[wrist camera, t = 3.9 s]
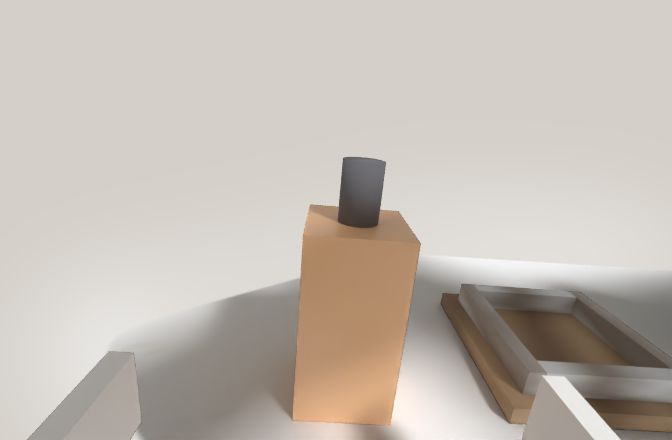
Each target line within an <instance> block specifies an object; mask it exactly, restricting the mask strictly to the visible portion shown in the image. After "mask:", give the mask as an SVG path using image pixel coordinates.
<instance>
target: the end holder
mask: <svg viewBox="0 0 672 440" xmlns="http://www.w3.org/2000/svg"><path fill="white" fill-rule="evenodd" d="M441 305H442V307H443V308H444V310H445V312H446V314H447V315H448V317H449V319H450V320H451V322H452V324H453V326H454V327H455V329H456V331H457V333H458V334H459V336H460V338H461V340H462V341H463V343H464V345H465V346H466V348H467V350H468V352H469V353H470V355H471V357H472V359H473V360H474V362H475V364H476V366H477V367H478V369H479V371H480V373H481V374H482V376H483V378H484V379H485V381H486V383H487V385H488V386H489V388H490V390H491V392H492V393H493V395H494V397H495V399H496V400H497V402H498V404H499V406H500V407H501V409H502V411H503V412H504V414H505V416H506V418H507V419H508V421H509V423H517V424H527V421H528V417H529V414H530V411H531V408H532V405H533V402H534V399H535V396H536V392H537V389H538V386H539V383H540V380H541V377H542V375H545V376H563V377H565V378H566V379H567V380H568V381H569V382H570V383H571V384H572V385H573V387H574V388H575V389H576V390H577V391H578V392H579V393H580V394H581V396H582V397H583V398H584V399H585V400H586V401H587V402H588V403H589V405H590V406H591V407H592V408H593V409H594V410H595V411H596V412H597V413H598V415H599V416H600V417H601V418H602V419H603V420H604V421H605V422H606V424H607V425H608V426H609V427H610V428H611V429H627V430H646V431H664V432H672V358H671V357H670V356H668V355H667V354H665V353H664V352H663V351H661V350H660V349H659V348H657V347H656V346H654V345H653V344H652V343H650V342H649V341H647V340H646V339H645V338H643V337H642V336H640V335H639V334H638V333H636V332H635V331H633V330H632V329H631V328H629V327H628V326H626V325H625V324H624V323H622V322H621V321H620V320H618V319H617V318H615V317H614V316H613V315H611V314H610V313H608V312H607V311H606V310H604V309H603V308H601V307H600V306H599V305H597V304H596V303H594V302H593V301H592V300H590V299H589V298H588V297H586V296H585V295H583V294H582V293H581V292H571V291H557V290H543V289H528V288H514V287H500V286H485V285H471V284H462V285H461V290H460V294H448V293H443V294H442V299H441Z"/></svg>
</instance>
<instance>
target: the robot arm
mask: <svg viewBox="0 0 672 440" xmlns="http://www.w3.org/2000/svg"><path fill="white" fill-rule="evenodd" d="M141 421H142V419H141V410H140V402H139V393H138V384H137V375H136V366H135V357H134V353H131V352H113V351H109V352H108V353H107V354H106V355H105V356H104V357H103V358H102V359H101V360H100V361H99V363H98V364H97V365H96V366H95V367H94V368H93V369H92V370H91V371H90V372H89V374H87V376H86V377H85V378H84V379H83V380H82V381H81V382H80V383H79V384H78V385H77V386H76V387H75V388H74V390H73V391H72V392H71V393H70V394H69V395H68V396H67V397H66V398H65V399H64V400H63V401H62V403H61V404H60V405H59V406H58V407H57V408H56V409H55V410H54V411H53V412H52V413H51V415H49V417H48V418H47V419H46V420H45V421H44V422H43V423H42V424H41V425H40V426H39V427H38V428H37V430H36V431H35V432H34V433H33V434H32V435H31V436H30V437H29V438H28V439H27V440H131V438H132V436H133V435H134V433H135V431H136V430H137V428H138V426H139V425H140V423H141ZM522 440H621V439H620V438H619V437H618V436H617V435H616V434H615V433H614V431H613V430H612V429H611V428H610V427H609V426H608V425H607V424H606V422H605V421H604V420H603V419H602V418H601V417H600V416H599V415H598V413H597V412H596V411H595V410H594V409H593V408H592V407H591V406H590V405H589V403H588V402H587V401H586V400H585V399H584V398H583V397H582V396H581V394H580V393H579V392H578V391H577V390H576V389H575V388H574V387H573V385H572V384H571V383H570V382H569V381H568V380H567V379H566V378H565V377H563V376H545V375H542V377H541V380H540V383H539V386H538V389H537V392H536V396H535V399H534V402H533V405H532V408H531V411H530V414H529V417H528V421H527V424H526V427H525V430H524V433H523V436H522Z"/></svg>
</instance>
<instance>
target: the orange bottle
mask: <svg viewBox="0 0 672 440" xmlns="http://www.w3.org/2000/svg"><path fill="white" fill-rule="evenodd" d="M385 166H386V162H385V161H382V160H378V159H371V158H361V157H345V158H343V166H342V177H341V188H340V200H339V207H336V206H323V205H322V206H321V205H310V207H309V212H308V217H307V221H306V225H305V229H304V234H303V246H302V247H303V248H302V264H301V280H300V298H299V315H298V332H297V350H296V367H295V384H294V402H293V419H292V420H297V421H316V422H334V423H353V424H372V425H390V424H391V418H392V412H393V406H394V400H395V394H396V388H397V382H398V376H399V370H400V364H401V358H402V353H403V347H404V341H405V335H406V329H407V323H408V317H409V311H410V305H411V299H412V293H413V287H414V281H415V275H416V269H417V263H418V257H419V251H420V245H421V243H420V242H419V240H418V239H417V237H416V236H415V234H414V233H413V232H412V230H411V229H410V227H409V226H408V224H407V223H406V221H405V220H404V218H403V217H402V215H401V214H400V213H399V211H387V210H380V206H381V198H382V190H383V181H384V174H385Z"/></svg>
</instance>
